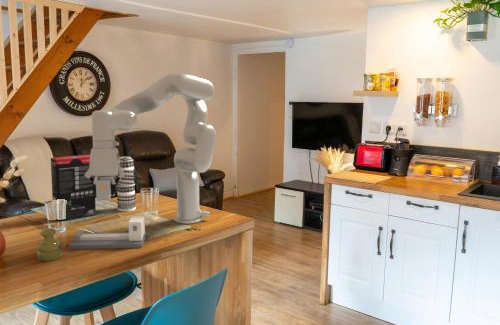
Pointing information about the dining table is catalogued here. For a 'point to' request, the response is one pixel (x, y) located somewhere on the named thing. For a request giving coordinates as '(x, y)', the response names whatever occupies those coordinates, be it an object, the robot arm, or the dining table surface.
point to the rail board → (113, 237)
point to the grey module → (103, 188)
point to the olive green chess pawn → (49, 246)
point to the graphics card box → (73, 185)
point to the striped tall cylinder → (126, 185)
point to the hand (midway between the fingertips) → (105, 194)
